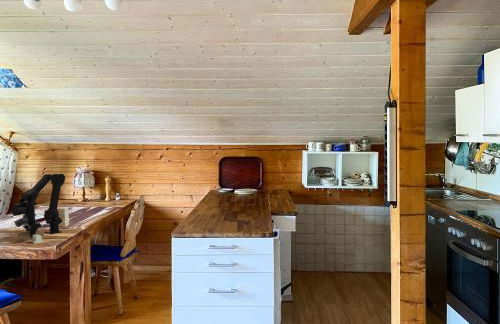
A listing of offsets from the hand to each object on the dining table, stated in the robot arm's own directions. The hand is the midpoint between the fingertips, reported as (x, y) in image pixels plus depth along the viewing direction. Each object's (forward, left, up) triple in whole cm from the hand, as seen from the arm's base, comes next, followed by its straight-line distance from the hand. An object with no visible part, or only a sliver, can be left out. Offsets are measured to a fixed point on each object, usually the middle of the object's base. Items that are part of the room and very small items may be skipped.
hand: (30, 237), depth 251 cm
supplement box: (-23, +29, -1) cm, 37 cm away
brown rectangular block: (0, 0, -1) cm, 1 cm away
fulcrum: (+9, 0, -1) cm, 10 cm away
